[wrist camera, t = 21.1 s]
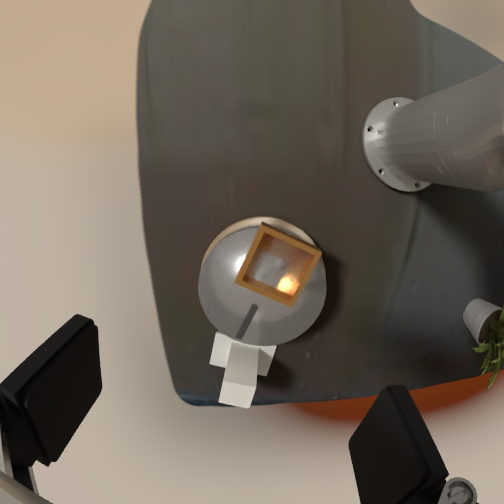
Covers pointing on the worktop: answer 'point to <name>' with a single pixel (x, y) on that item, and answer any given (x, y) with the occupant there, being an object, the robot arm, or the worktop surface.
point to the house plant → (487, 332)
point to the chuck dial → (262, 284)
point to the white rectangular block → (240, 375)
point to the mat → (224, 344)
